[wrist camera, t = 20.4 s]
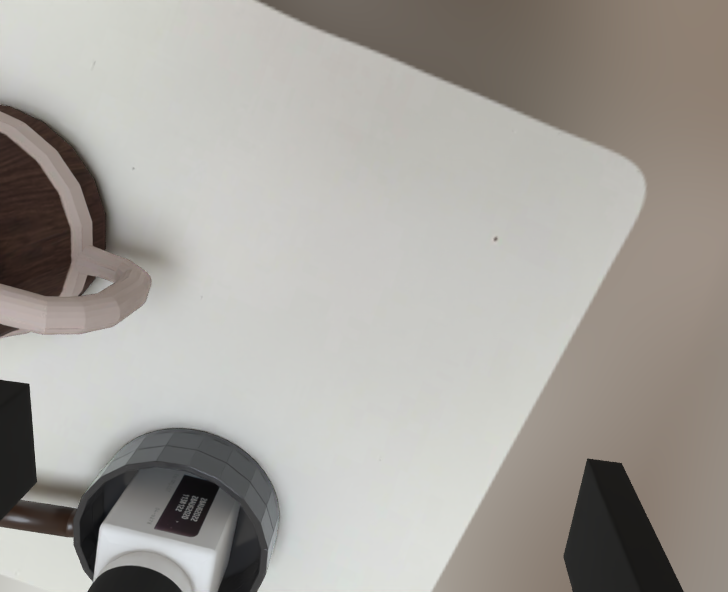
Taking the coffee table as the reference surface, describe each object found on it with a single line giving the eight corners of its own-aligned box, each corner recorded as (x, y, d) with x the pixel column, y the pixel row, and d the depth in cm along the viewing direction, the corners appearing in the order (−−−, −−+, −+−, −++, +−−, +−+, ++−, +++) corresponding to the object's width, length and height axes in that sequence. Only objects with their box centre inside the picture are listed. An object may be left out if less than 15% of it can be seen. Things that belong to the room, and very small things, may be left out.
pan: (286, 442, 49) (274, 478, 45) (272, 593, 54) (260, 638, 50) (100, 415, 50) (70, 448, 45) (101, 566, 54) (75, 609, 50)
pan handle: (92, 504, 49) (79, 522, 47) (92, 527, 50) (80, 545, 48) (-67, 480, 50) (-86, 497, 48) (-64, 503, 50) (-83, 520, 48)
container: (144, 458, 50) (55, 586, 38) (245, 483, 50) (189, 619, 38) (132, 541, 52) (46, 686, 40) (228, 564, 53) (171, 716, 40)
